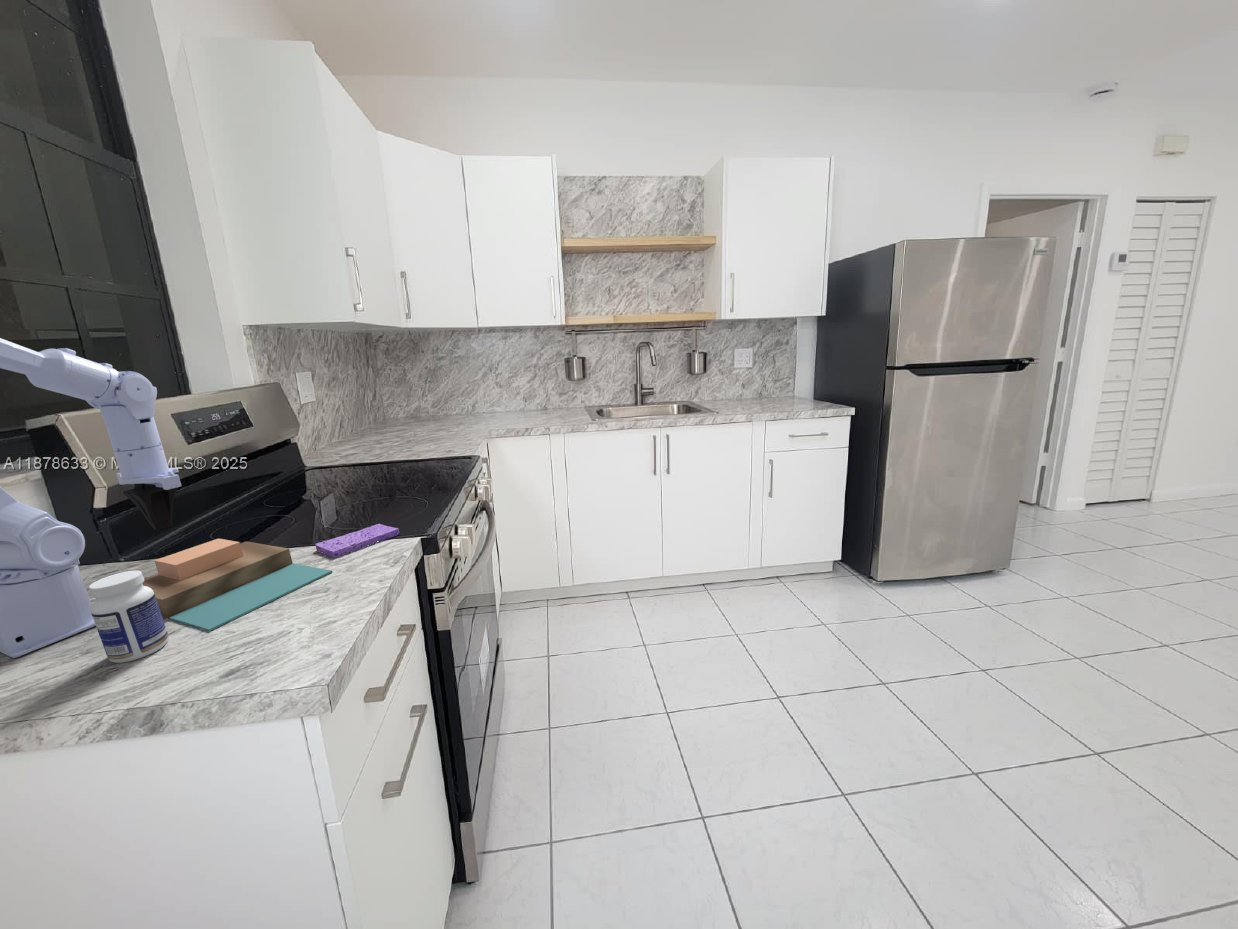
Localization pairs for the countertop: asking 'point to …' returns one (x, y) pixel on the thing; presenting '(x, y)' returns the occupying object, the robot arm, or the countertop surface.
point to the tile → (198, 559)
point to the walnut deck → (217, 578)
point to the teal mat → (249, 597)
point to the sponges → (356, 540)
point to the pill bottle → (127, 617)
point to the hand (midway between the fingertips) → (162, 527)
